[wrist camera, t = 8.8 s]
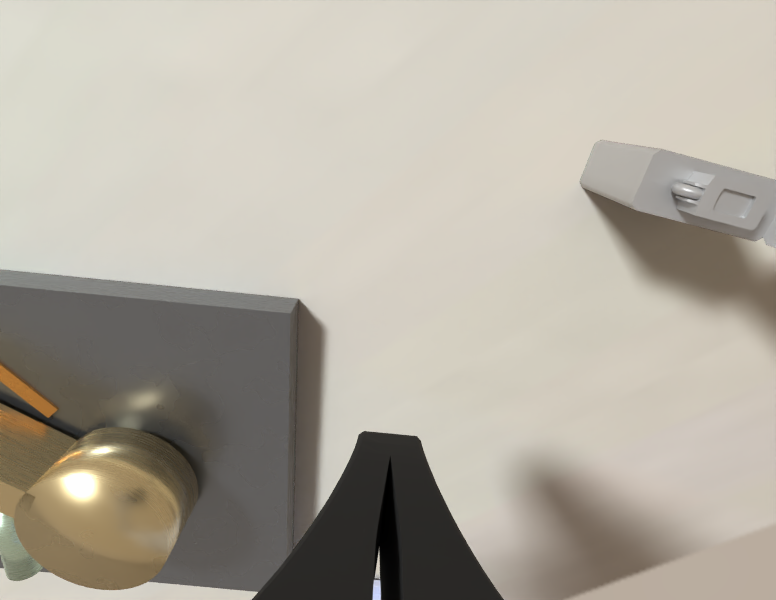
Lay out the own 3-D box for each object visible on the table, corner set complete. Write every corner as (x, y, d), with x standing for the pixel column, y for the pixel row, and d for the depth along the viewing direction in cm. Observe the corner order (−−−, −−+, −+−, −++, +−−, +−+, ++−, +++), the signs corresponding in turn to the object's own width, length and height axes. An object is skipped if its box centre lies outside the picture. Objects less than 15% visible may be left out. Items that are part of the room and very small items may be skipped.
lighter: (577, 186, 17) (707, 242, 10) (596, 138, 17) (750, 161, 9) (752, 232, 18) (998, 318, 11) (776, 187, 17) (1057, 246, 10)
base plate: (292, 567, 26) (278, 626, 23) (-1, 540, 25) (-52, 595, 23) (298, 299, 20) (280, 331, 17) (-86, 261, 19) (-171, 287, 16)
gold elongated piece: (220, 468, 21) (192, 523, 18) (167, 548, 23) (134, 609, 20) (-92, 312, 18) (-180, 349, 15) (-121, 417, 20) (-204, 466, 17)
